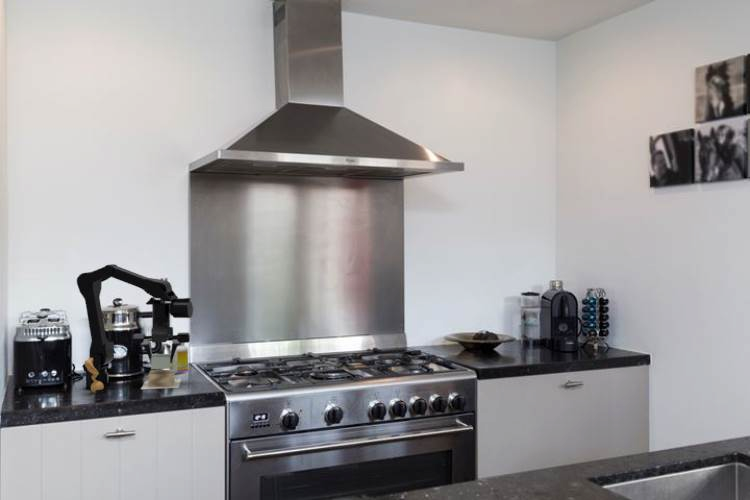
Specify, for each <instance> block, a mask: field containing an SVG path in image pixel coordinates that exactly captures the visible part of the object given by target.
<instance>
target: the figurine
mask: <svg viewBox="0 0 750 500" xmlns="http://www.w3.org/2000/svg"><path fill="white" fill-rule="evenodd" d="M92 361H93V358H88V359H86V360H85V361H84V364H85V366H86V367H87V370H89V371H90V373H92V374H93V375H92V380H93V381H94V383H92V385H91V389H90V390H91V392H92V393H96V392H97V391H100V390H103V389H104V387H105V384H103V383H102V382H100V381H97V380H95V378H96V377H97V375H98V374H99V373H98V371H97V370H96V369H95V368H94V366H93V363H92ZM93 369H94V370H95V371H94V370H93ZM96 372H97V373H96ZM93 378H94V379H93Z"/></svg>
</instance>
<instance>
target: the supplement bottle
mask: <svg viewBox="0 0 750 500" xmlns="http://www.w3.org/2000/svg"><path fill="white" fill-rule="evenodd" d="M171 343H173V341H172V342H171ZM171 350H172V346H170V348H169V354H171ZM169 370H175V374H177V373H188V372H189V348H188V346H187V345H186V344H185V343H182V344H181V345H178V346H177V349H176V351H175V354H174V357H173V360H172V363H171V367H170V369H169Z"/></svg>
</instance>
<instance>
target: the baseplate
mask: <svg viewBox="0 0 750 500" xmlns="http://www.w3.org/2000/svg"><path fill="white" fill-rule="evenodd" d="M181 382H182V379H181V378H177V379H176V378H175V382H174V384H173V386H160V387H148V380H145V381H144V383H143V385H142V386H141V388H140V390H152V389H153V390H157V389H178V388H179V387H180V384H181Z"/></svg>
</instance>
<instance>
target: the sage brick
mask: <svg viewBox="0 0 750 500" xmlns="http://www.w3.org/2000/svg"><path fill="white" fill-rule="evenodd" d="M170 358H171V354H170V353H157V354H156V353H154V354H153V353H152V357H151V363H150V370H170V367H171V363H170Z"/></svg>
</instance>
